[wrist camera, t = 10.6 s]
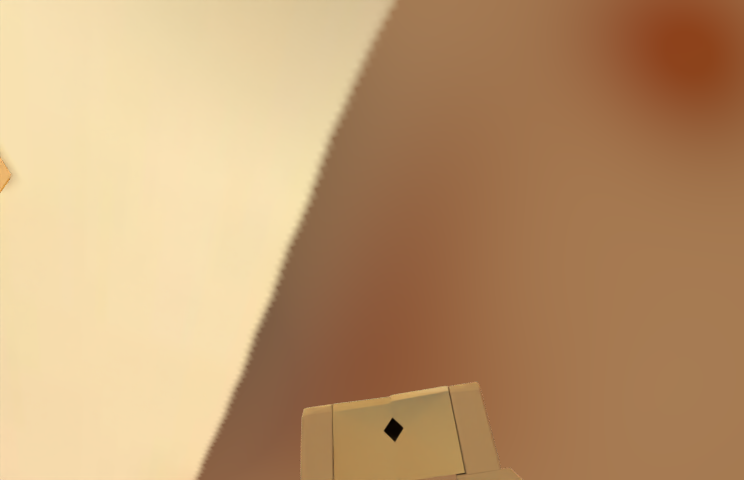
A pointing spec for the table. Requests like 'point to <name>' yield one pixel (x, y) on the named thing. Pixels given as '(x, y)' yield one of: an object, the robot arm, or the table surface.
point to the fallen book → (3, 175)
